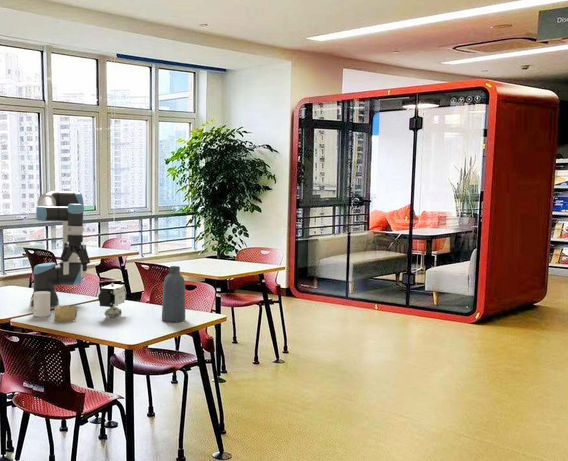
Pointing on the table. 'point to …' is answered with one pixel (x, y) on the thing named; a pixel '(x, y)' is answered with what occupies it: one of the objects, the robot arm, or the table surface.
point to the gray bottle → (174, 297)
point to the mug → (41, 304)
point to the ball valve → (112, 299)
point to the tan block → (64, 313)
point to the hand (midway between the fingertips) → (74, 275)
